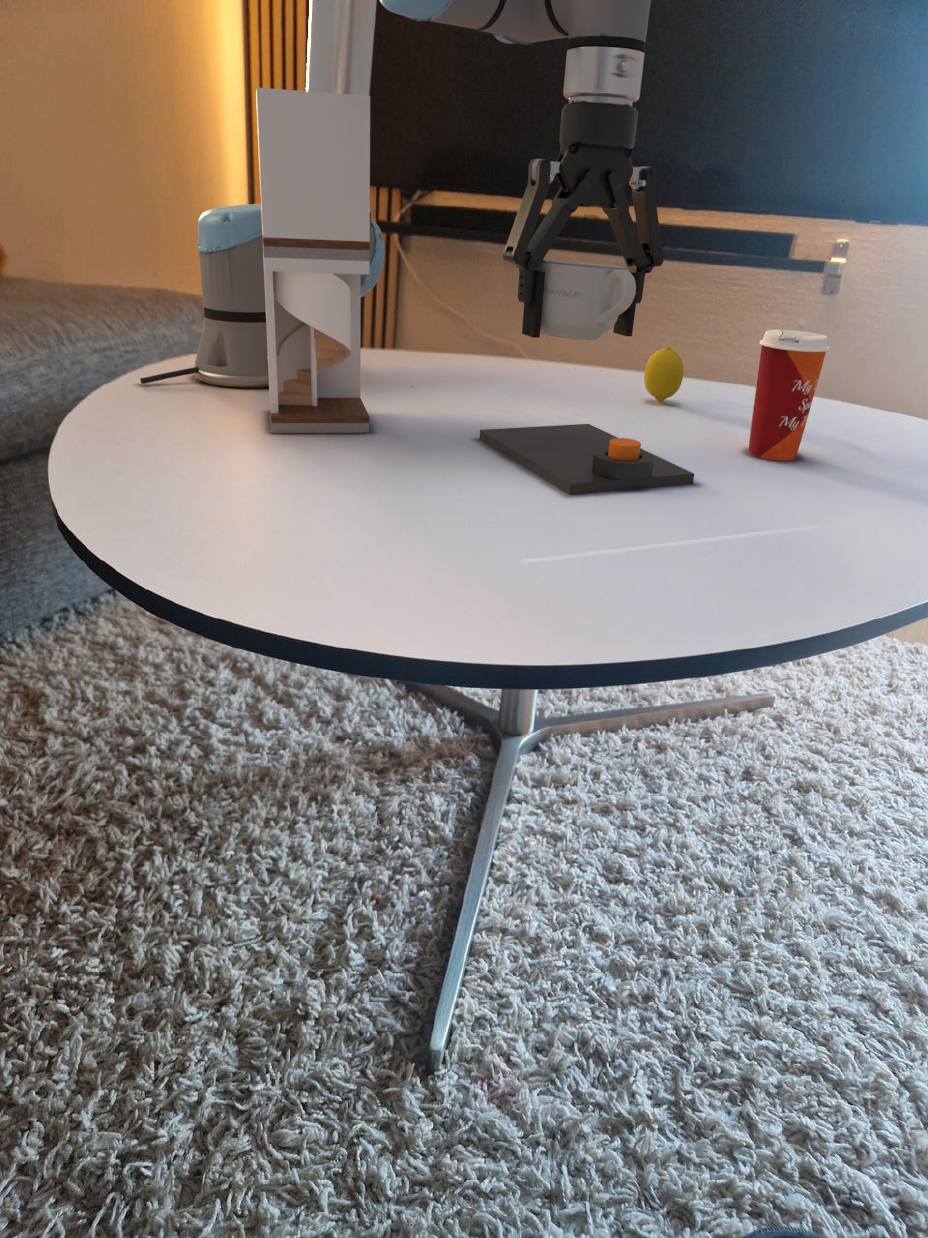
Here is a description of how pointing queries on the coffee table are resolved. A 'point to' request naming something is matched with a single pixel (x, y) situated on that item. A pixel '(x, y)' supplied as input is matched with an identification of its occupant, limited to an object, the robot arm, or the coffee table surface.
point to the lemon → (663, 374)
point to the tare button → (624, 449)
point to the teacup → (583, 298)
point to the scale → (582, 459)
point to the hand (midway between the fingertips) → (577, 335)
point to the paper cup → (785, 391)
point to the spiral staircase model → (314, 254)
